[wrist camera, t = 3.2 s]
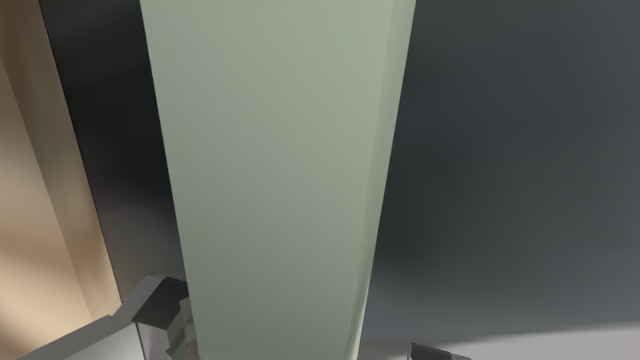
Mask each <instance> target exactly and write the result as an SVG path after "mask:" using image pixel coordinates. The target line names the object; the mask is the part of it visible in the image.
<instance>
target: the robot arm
mask: <svg viewBox="0 0 640 360" xmlns="http://www.w3.org/2000/svg"><path fill="white" fill-rule="evenodd" d="M195 338H196V332H195V326H194V320H193V314H192V308H191V302H190V296H189V290H188V284H187V282H185V281H182V280H178V279H175V278H171V277H168V276H165V275H161V274H157V273H154V272H151V273H150V274H148V275H146V276H145V277H144V279H143V280H142V281H141V282H140V283H139V285H138V286H137V287H136V288H135V289H134V291H133V292H132V293H131V294H130V295H129V297H128V298H127V299H126V300H125V301H124V303H123V304H122V305H121V306H120V307H119V309H118V310H117V311H116V312H115V313H114V315H113V316H112V315H106V316H104V317H102V318H100V319H98V320H95V321H93V322H91V323H89V324H87V325H85V326H83V327H81V328H79V329H77V330H75V331H73V332H71V333H69V334H66V335H64V336H62V337H60V338H58V339H56V340H54V341H52V342H50V343H48V344H46V345H44V346H42V347H40V348H37V349H35V350H33V351H31V352H29V353H27V354H25V355H23V356H21V357H19V358H17V359H16V360H183V358H184V357H185V355H186V353H187V345H186V343H188V342H190V341H192V340H193V339H195ZM407 360H471V359H470V358H468V357H464V356H460V355H456V354H453V353H450V352H447V351H443V350H439V349H435V348H432V347H428V346H424V345H420V344H416V343H412V342H411V344H410V346H409V349H408V355H407Z"/></svg>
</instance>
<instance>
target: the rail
mask: <svg viewBox="0 0 640 360" xmlns="http://www.w3.org/2000/svg"><path fill="white" fill-rule="evenodd" d="M140 3H141V9H142V15H143V21H144V27H145V33H146V39H147V45H148V51H149V57H150V63H151V69H152V75H153V81H154V87H155V93H156V99H157V105H158V111H159V117H160V123H161V129H162V135H163V141H164V147H165V153H166V159H167V165H168V171H169V177H170V183H171V189H172V195H173V201H174V207H175V213H176V219H177V225H178V231H179V237H180V242H181V248H182V254H183V260H184V266H185V272H186V278H187V284H188V290H189V296H190V302H191V308H192V314H193V320H194V326H195V332H196V338H197V344H198V350H199V356H200V360H357V354H358V348H359V342H360V336H361V330H362V324H363V317H364V311H365V305H366V299H367V293H368V287H369V281H370V275H371V269H372V263H373V257H374V251H375V245H376V239H377V233H378V227H379V221H380V215H381V209H382V203H383V197H384V191H385V185H386V179H387V172H388V166H389V160H390V154H391V148H392V142H393V136H394V130H395V124H396V118H397V112H398V106H399V100H400V94H401V88H402V82H403V76H404V70H405V64H406V58H407V52H408V46H409V40H410V34H411V27H412V21H413V15H414V9H415V3H416V0H140Z"/></svg>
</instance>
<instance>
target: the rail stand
mask: <svg viewBox="0 0 640 360" xmlns="http://www.w3.org/2000/svg"><path fill="white" fill-rule="evenodd" d="M121 305H122V303H121V299H120V296H119V292H118V289H117V285H116V281H115V278H114V274H113V270H112V267H111V263H110V260H109V256H108V252H107V249H106V245H105V241H104V238H103V234H102V231H101V227H100V223H99V220H98V216H97V212H96V209H95V205H94V202H93V198H92V194H91V191H90V187H89V183H88V180H87V176H86V172H85V169H84V165H83V162H82V158H81V154H80V151H79V147H78V143H77V140H76V136H75V133H74V129H73V125H72V122H71V118H70V114H69V111H68V107H67V104H66V100H65V96H64V93H63V89H62V85H61V82H60V78H59V75H58V71H57V67H56V64H55V60H54V56H53V53H52V49H51V46H50V42H49V38H48V35H47V31H46V27H45V24H44V20H43V17H42V13H41V9H40V6H39V2H38V0H0V360H16V359H17V358H19V357H21V356H23V355H25V354H27V353H29V352H31V351H33V350H35V349H37V348H40V347H42V346H44V345H46V344H48V343H50V342H52V341H54V340H56V339H58V338H60V337H62V336H64V335H66V334H69V333H71V332H73V331H75V330H77V329H79V328H81V327H83V326H85V325H87V324H89V323H91V322H93V321H95V320H98V319H100V318H102V317H104V316H106V315H112V316H113V315H114V313H115V312H116V311H117V310H118V309H119V307H120V306H121Z"/></svg>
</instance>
